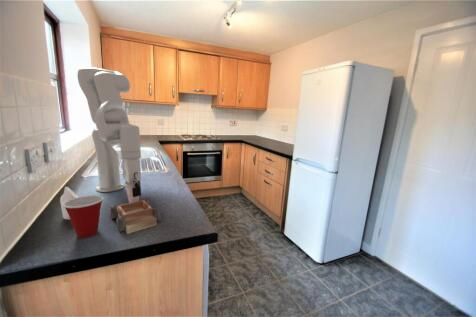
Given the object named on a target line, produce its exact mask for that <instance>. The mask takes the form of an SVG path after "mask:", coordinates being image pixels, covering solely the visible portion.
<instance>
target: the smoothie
mask: <svg viewBox="0 0 476 317" xmlns="http://www.w3.org/2000/svg"><path fill="white" fill-rule="evenodd" d="M133 181H134V180H133ZM134 184H135V183H134ZM140 185H141V181H140ZM141 186H142V185H141ZM124 187H125V189H126V194H127V200H128V203H132V202H136V201H140V196H137V197H133V192H132V188H133V185H132V182H130V183H128V182H127V181H125V182H124Z"/></svg>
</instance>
